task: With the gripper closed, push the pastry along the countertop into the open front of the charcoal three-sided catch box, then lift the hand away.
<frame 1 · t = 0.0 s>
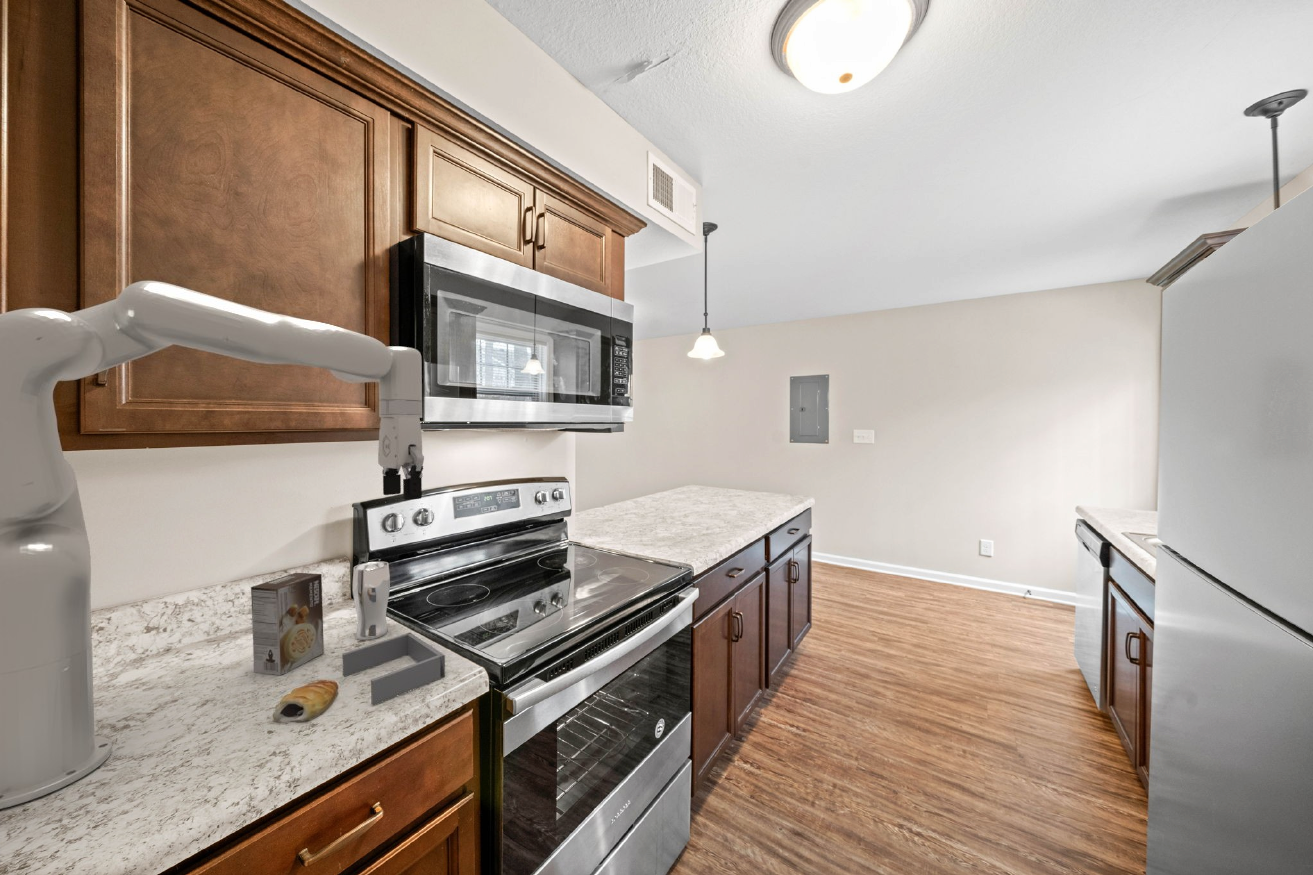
hand: (402, 496, 96), 31 cm above the countertop, tool pointing down, fingers open, 9 cm apart
pastry: (307, 710, 77), on the countertop
coffee box: (289, 663, 92), on the countertop
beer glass: (372, 634, 105), on the countertop
catch box: (391, 676, 87), on the countertop
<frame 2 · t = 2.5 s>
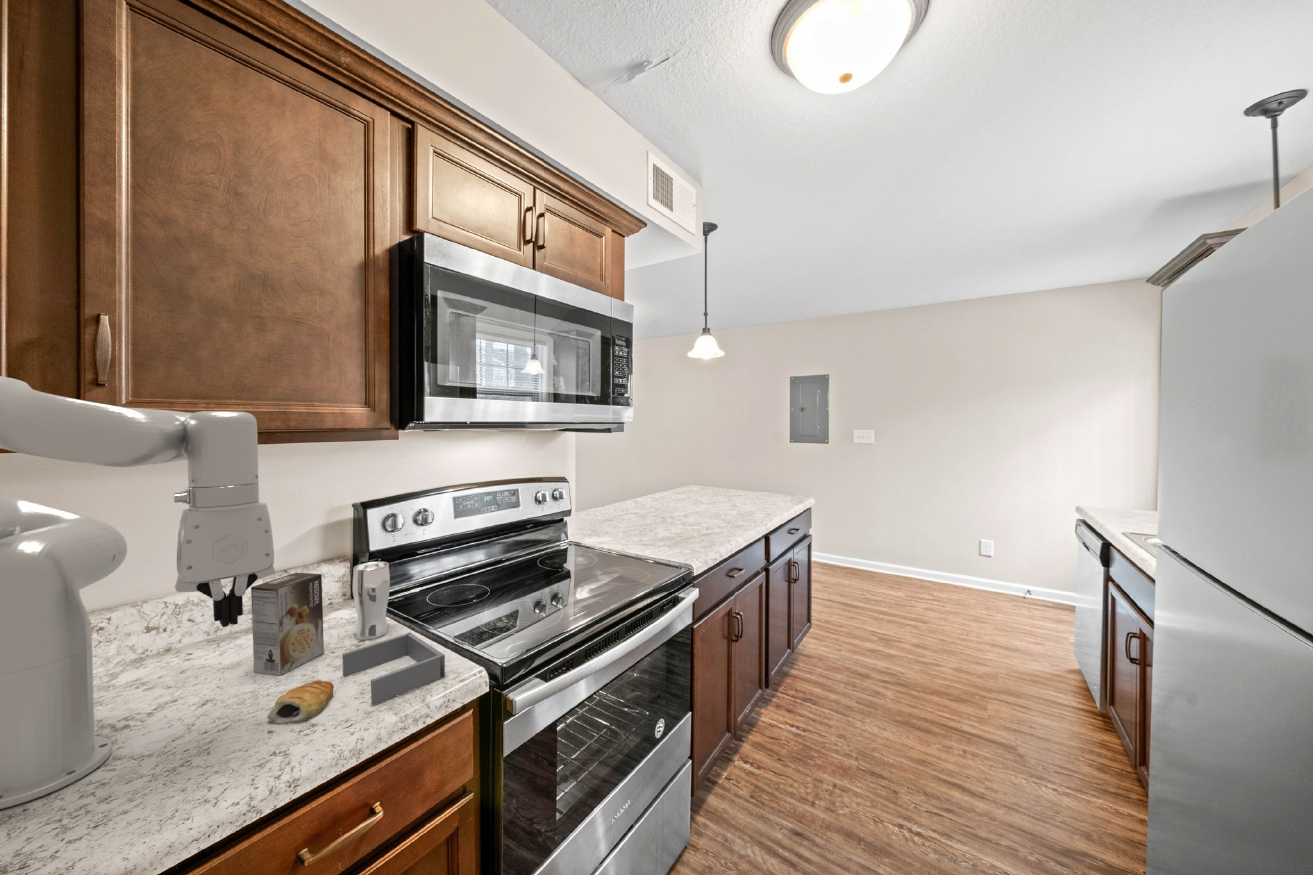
hand: (228, 622, 70), 17 cm above the countertop, tool pointing down, fingers closed
nothing on the countertop moved.
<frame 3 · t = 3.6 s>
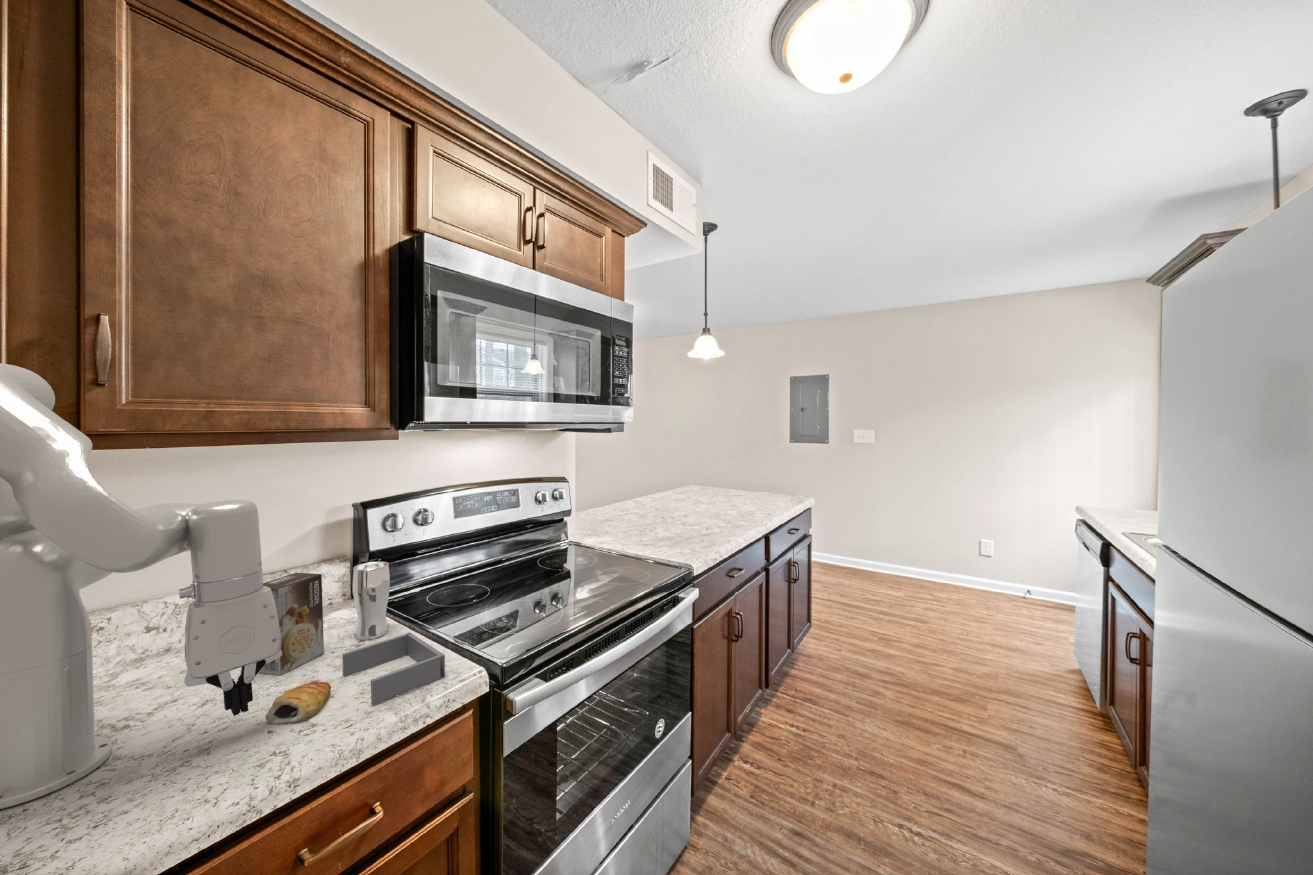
hand: (239, 709, 70), 4 cm above the countertop, tool pointing down, fingers closed
nothing on the countertop moved.
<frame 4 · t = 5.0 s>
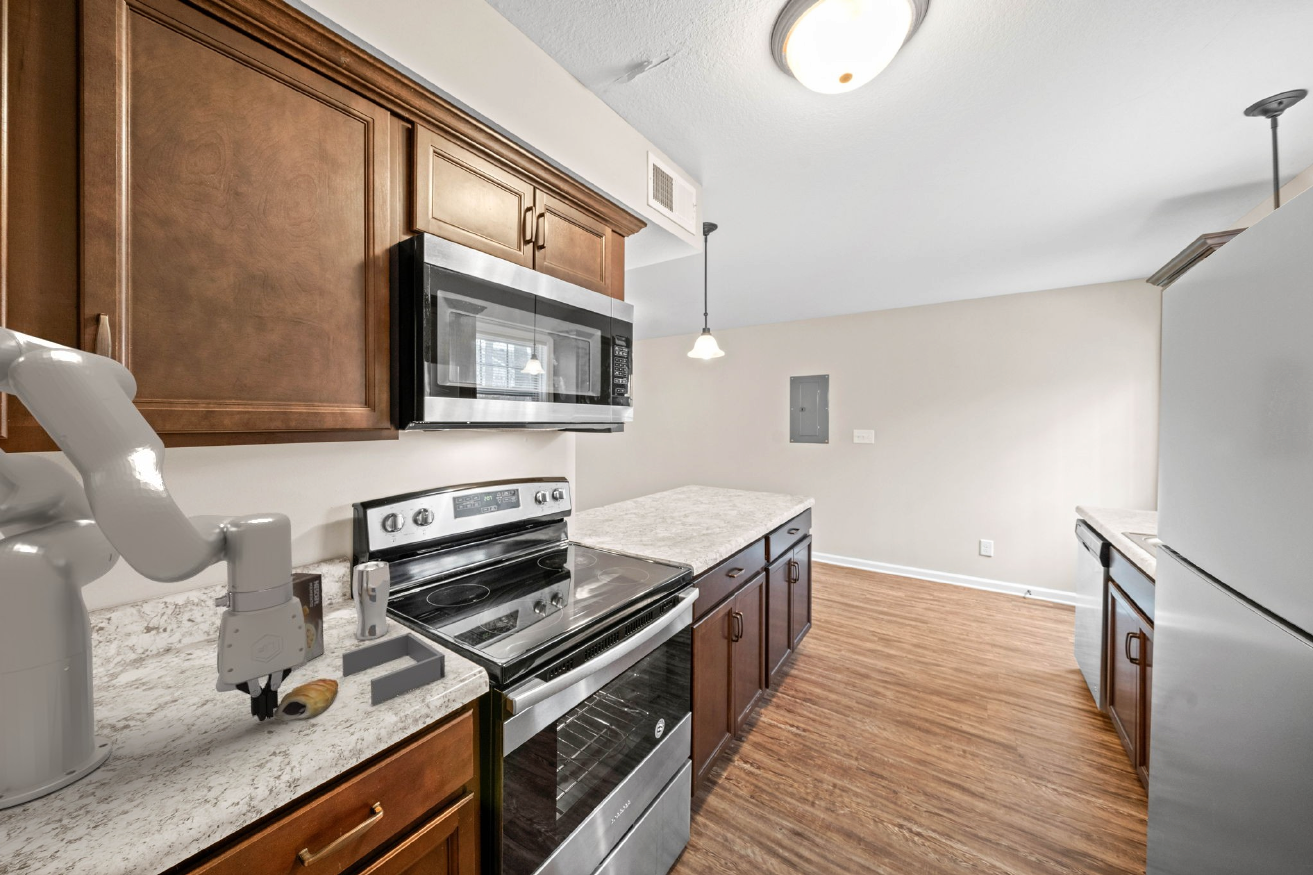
hand: (264, 715, 73), 1 cm above the countertop, tool pointing down, fingers closed
pastry: (308, 709, 78), on the countertop, touching gripper
everything else where it was.
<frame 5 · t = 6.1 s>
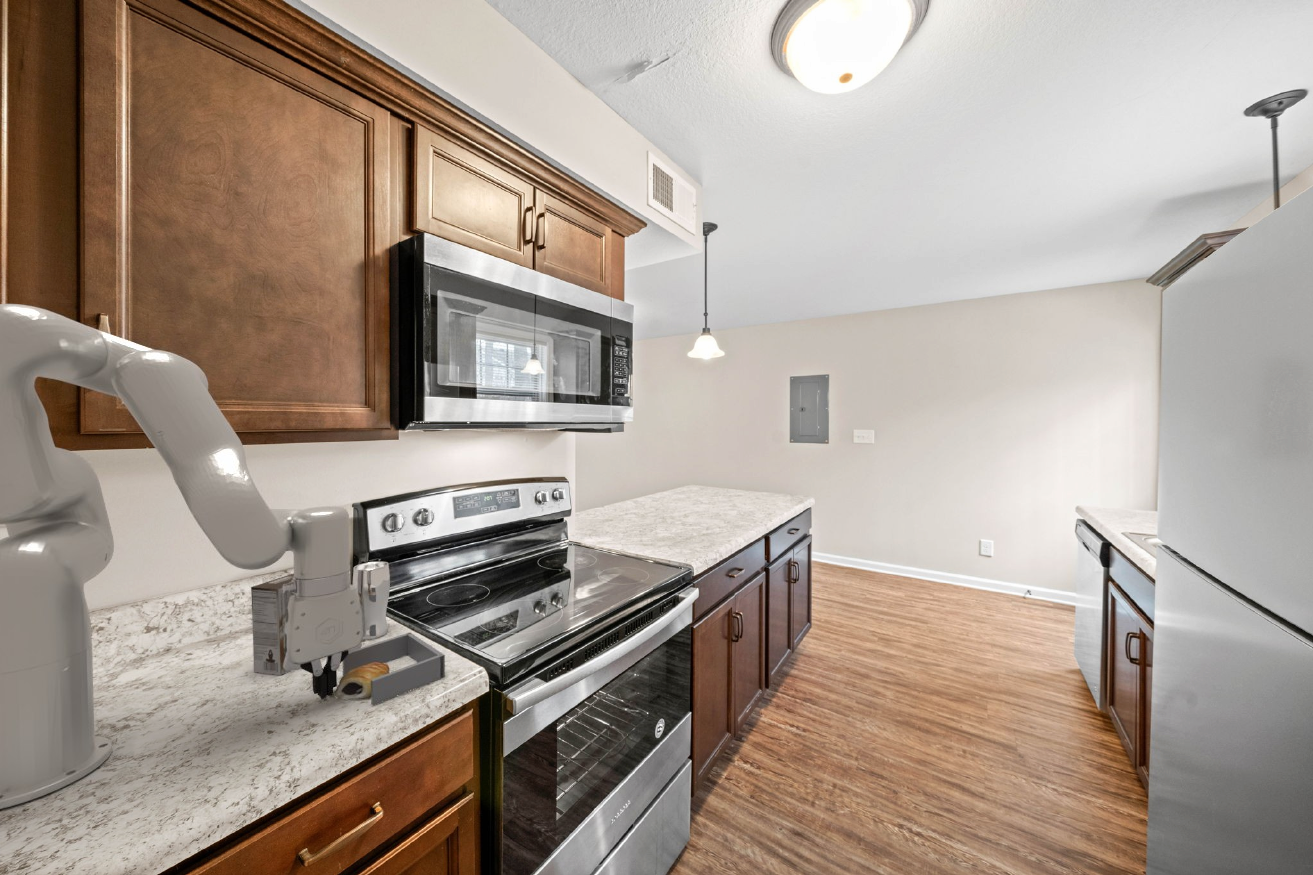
hand: (324, 694, 79), 1 cm above the countertop, tool pointing down, fingers closed
pastry: (363, 690, 83), on the countertop, touching gripper
everything else where it was.
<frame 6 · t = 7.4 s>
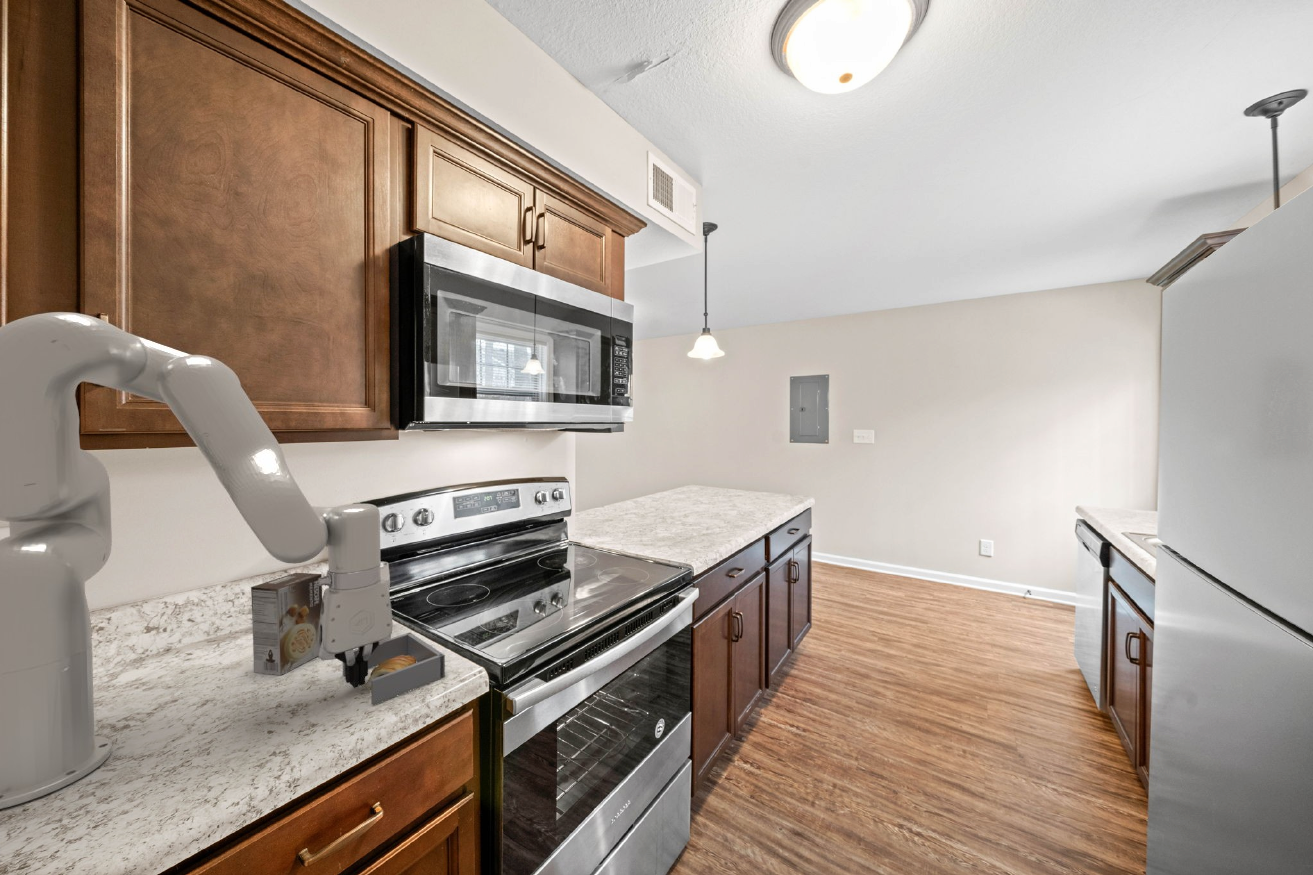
hand: (356, 683, 83), 1 cm above the countertop, tool pointing down, fingers closed
pastry: (393, 681, 86), on the countertop
everything else where it was.
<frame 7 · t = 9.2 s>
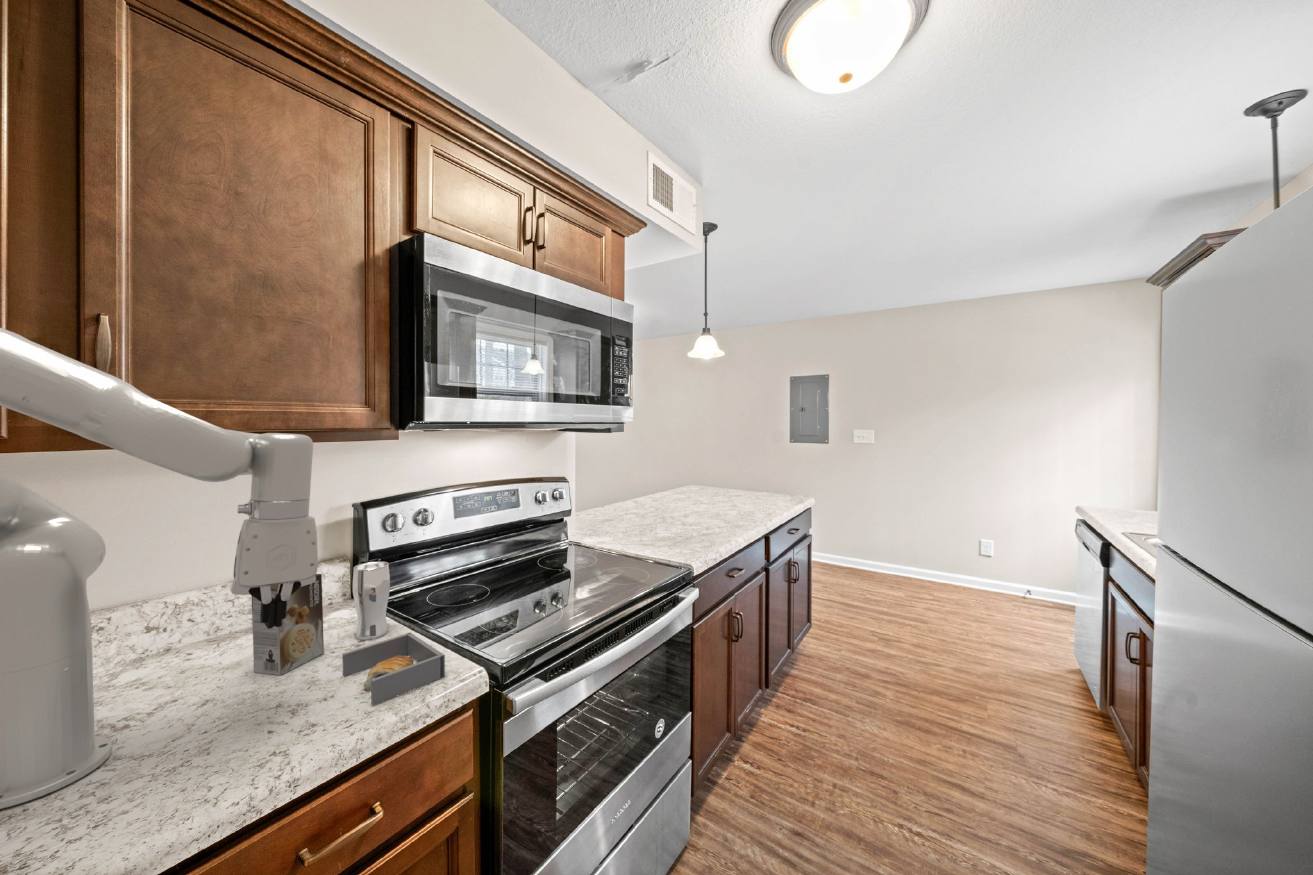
hand: (272, 625, 77), 13 cm above the countertop, tool pointing down, fingers closed
nothing on the countertop moved.
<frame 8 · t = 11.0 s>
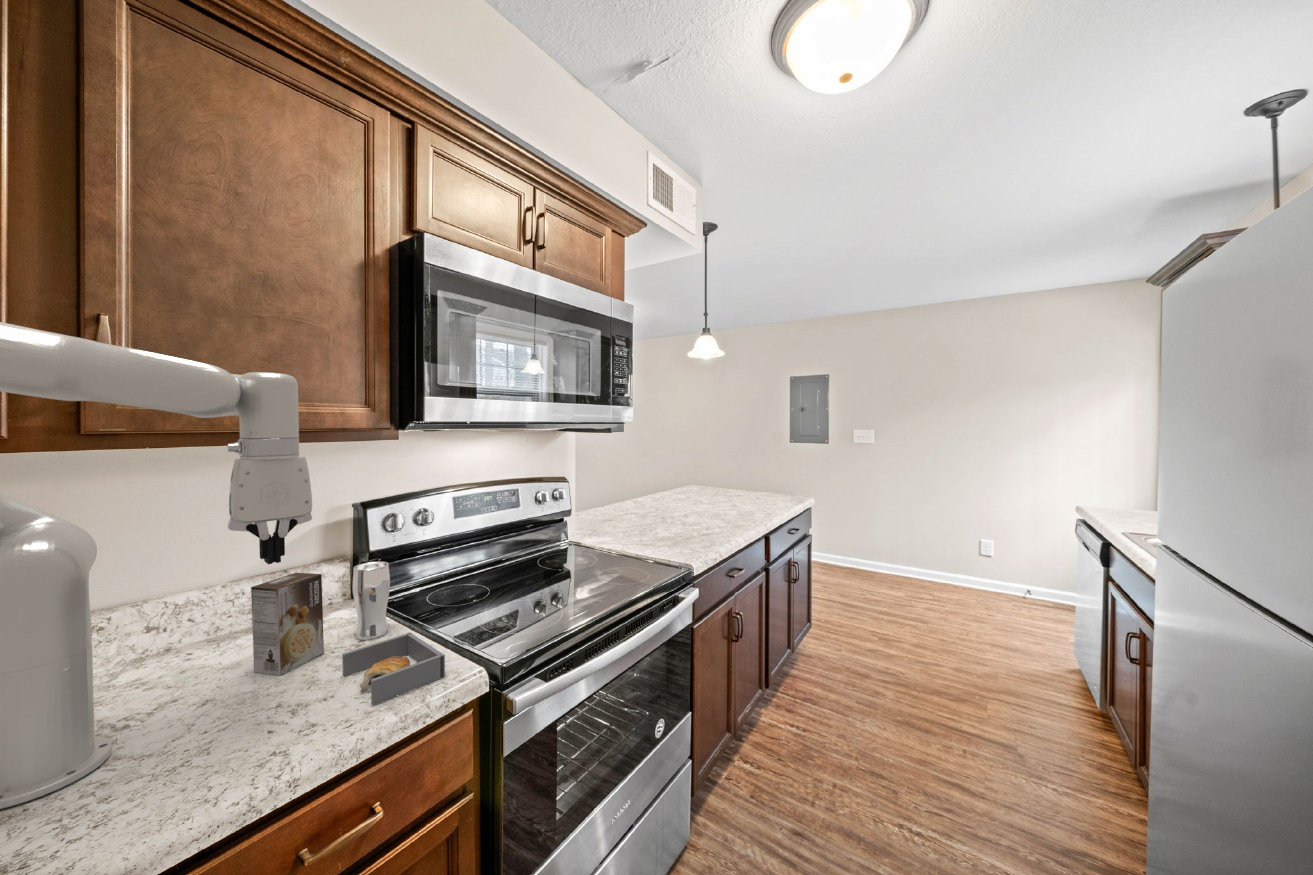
hand: (272, 561, 79), 23 cm above the countertop, tool pointing down, fingers closed
nothing on the countertop moved.
at the end: pastry inside the target area on the catch box (2.2 cm from its centre), point -0.5 cm above the catch box's base; pastry moved 11.6 cm from its start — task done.
